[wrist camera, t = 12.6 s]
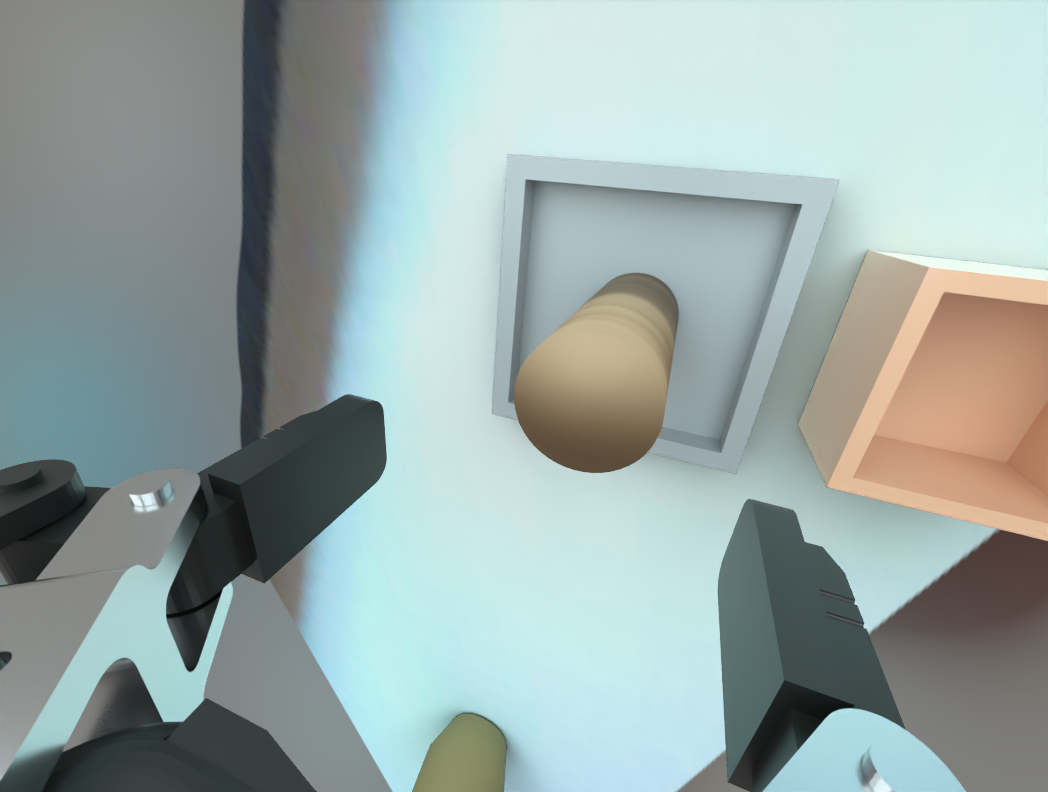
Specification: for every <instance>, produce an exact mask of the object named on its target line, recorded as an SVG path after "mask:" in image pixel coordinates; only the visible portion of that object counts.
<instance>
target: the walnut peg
mask: <svg viewBox="0 0 1048 792" xmlns="http://www.w3.org/2000/svg"><path fill="white" fill-rule="evenodd" d="M678 319H679V310H678V304H677V301H676V298H675V296H674V294H673V292H672V291H671V289H670V288H669V287H668V286H667V285H666V284H665V283H664V282H663V281H661V280H660V279H658V278H656V277H654V276H652V275H649V274H645V273H628V274H623V275H620V276H618V277H616V278H614V279H612V280H611V281H609V282H608V283H607V284H606V285H604V286H603V287H602V288H601V289H600V290H599V291H598V292H597V293H596V294H595V295H594V296H593V297H591V298H590V299H589V300H588V301H587V302H586V303H585V304H584V305H583V306H582V307H581V308H579V309H578V310H577V311H576V312H575V313H574V314H573V315H572V316H571V317H570V318H569V319H568V320H566V321H565V322H564V323H563V324H562V325H561V326H560V327H559V328H558V329H557V330H556V331H554V332H553V333H552V334H551V335H550V336H549V337H548V338H547V339H546V340H545V341H544V342H543V343H541V344H540V345H539V346H538V347H537V348H536V349H535V350H534V351H533V352H532V353H531V354H530V355H529V356H528V357H527V358H526V360H525V361H524V363H523V364H522V366H521V368H520V370H519V372H518V375H517V378H516V382H515V388H514V405H515V410H516V414H517V418H518V420H519V423H520V425H521V427H522V429H523V431H524V433H525V434H526V436H527V437H528V439H529V440H530V441H531V442H532V444H533V445H534V446H535V447H536V448H537V449H538V450H539V451H540V452H541V453H543V454H544V455H545V456H547V457H548V458H549V459H551V460H553V461H555V462H556V463H558V464H560V465H563V466H565V467H567V468H570V469H573V470H577V471H582V472H590V473H603V472H611V471H615V470H619V469H622V468H624V467H627V466H629V465H631V464H633V463H634V462H636V461H637V460H639V459H640V458H641V457H643V456H644V455H645V454H646V453H647V452H648V451H649V450H650V449H651V447H652V446H653V445H654V443H655V442H656V440H657V438H658V436H659V434H660V431H661V428H662V425H663V420H664V414H665V407H666V400H667V393H668V387H669V380H670V373H671V366H672V360H673V353H674V346H675V339H676V332H677V326H678Z"/></svg>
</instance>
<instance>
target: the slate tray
mask: <svg viewBox="0 0 1048 792" xmlns="http://www.w3.org/2000/svg"><path fill="white" fill-rule="evenodd" d="M839 181H840V179H830V178H817V177H804V176H790V175H777V174H764V173H750V172H737V171H724V170H711V169H697V168H684V167H671V166H658V165H644V164H631V163H618V162H604V161H591V160H578V159H565V158H551V157H538V156H525V155H512V154H508V156H507V172H506V188H505V205H504V221H503V237H502V254H501V270H500V286H499V303H498V319H497V336H496V352H495V368H494V385H493V401H492V414H495V415H499V416H503V417H507V418H511V419H515V420H518V418H517V414H516V410H515V405H514V388H515V382H516V378H517V375H518V372H519V370H520V368H521V366H522V364H523V363H524V361H525V360H526V358H527V357H528V356H529V355H530V354H531V353H532V352H533V351H534V350H535V349H536V348H537V347H538V346H539V345H540V344H541V343H543V342H544V341H545V340H546V339H547V338H548V337H549V336H550V335H551V334H552V333H553V332H554V331H556V330H557V329H558V328H559V327H560V326H561V325H562V324H563V323H564V322H565V321H566V320H568V319H569V318H570V317H571V316H572V315H573V314H574V313H575V312H576V311H577V310H578V309H579V308H581V307H582V306H583V305H584V304H585V303H586V302H587V301H588V300H589V299H590V298H591V297H593V296H594V295H595V294H596V293H597V292H598V291H599V290H600V289H601V288H602V287H603V286H604V285H606V284H607V283H608V282H609V281H611V280H612V279H614V278H616V277H618V276H620V275H623V274H628V273H645V274H649V275H652V276H654V277H656V278H658V279H660V280H661V281H663V282H664V283H665V284H666V285H667V286H668V287H669V288H670V289H671V291H672V292H673V294H674V296H675V298H676V301H677V304H678V310H679V319H678V326H677V332H676V339H675V346H674V353H673V360H672V366H671V373H670V380H669V387H668V393H667V400H666V407H665V414H664V420H663V425H662V428H661V431H660V434H659V436H658V438H657V440H656V442H655V443H654V445H653V446H652V447H651V449H650V450H649V451H648V453H652V454H657V455H661V456H665V457H669V458H673V459H677V460H681V461H685V462H689V463H693V464H697V465H701V466H705V467H709V468H713V469H717V470H721V471H725V472H729V473H733V474H736V473H737V470H738V467H739V464H740V462H741V459H742V456H743V453H744V450H745V447H746V444H747V442H748V439H749V436H750V433H751V430H752V427H753V425H754V422H755V419H756V416H757V413H758V410H759V408H760V405H761V402H762V399H763V396H764V393H765V391H766V388H767V385H768V382H769V379H770V376H771V374H772V371H773V368H774V365H775V362H776V359H777V357H778V354H779V351H780V348H781V345H782V342H783V340H784V337H785V334H786V331H787V328H788V325H789V323H790V320H791V317H792V314H793V311H794V308H795V305H796V303H797V300H798V297H799V294H800V291H801V288H802V286H803V283H804V280H805V277H806V274H807V271H808V269H809V266H810V263H811V260H812V257H813V254H814V252H815V249H816V246H817V243H818V240H819V237H820V235H821V232H822V229H823V226H824V223H825V220H826V218H827V215H828V212H829V209H830V206H831V203H832V201H833V198H834V195H835V192H836V189H837V186H838V183H839Z"/></svg>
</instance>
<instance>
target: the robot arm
mask: <svg viewBox="0 0 1048 792" xmlns="http://www.w3.org/2000/svg"><path fill="white" fill-rule="evenodd" d="M386 459H387V456H386V441H385V426H384V412H383V408H382V405H381V404H380V403H379V402H377V401H374V400H370V399H366V398H362V397H358V396H355V395H351V394H348V395H344V396H342V397H341V398H339V399H337V400H335V401H334V402H332V403H330V404H328V405H327V406H325V407H323V408H321V409H320V410H318V411H315V412H311V413H308V414H305V415H302V416H299V417H297V418H296V419H294V420H292V421H290V422H288V423H287V424H285V425H283V426H281V427H280V430H277V429H276V430H274V431H272V432H271V433H269V434H267V435H265V436H264V438H263V439H258V440H256V441H254V442H253V443H251V444H249V445H247V446H246V447H244V448H242V449H240V450H238V451H237V452H235V453H233V454H231V455H229V456H228V457H226V458H224V459H222V460H221V461H219V462H217V463H215V464H213V465H212V466H210V467H208V468H206V469H204V470H203V471H201V472H199V473H195V472H193V471H191V470H187V469H180V468H171V469H162V470H155V471H151V472H147V473H143V474H140V475H137V476H134V477H132V478H130V479H127V480H125V481H123V482H121V483H119V484H117V485H116V486H114V487H113V488H100V487H84V485H83V483H82V481H81V478H80V476H79V474H78V472H77V469H76V467H75V465H74V464H72V463H71V462H68V461H64V460H40V461H34V462H28V463H23V464H19V465H16V466H12V467H9V468H5V469H2V470H0V571H1V573H2V575H3V577H4V578H5V580H6V582H7V583H8V585H1V586H0V792H316V790H314V789H313V787H312V786H311V785H310V784H309V782H308V781H307V780H306V779H305V777H304V776H303V775H302V774H301V772H300V771H299V770H298V769H297V767H296V766H295V765H294V764H293V763H292V761H291V760H290V759H289V757H288V756H287V755H286V754H285V752H284V751H283V750H282V749H281V747H280V746H279V745H278V744H277V742H276V741H275V740H274V739H273V737H272V736H271V735H270V734H269V732H268V731H267V730H265V729H263V728H261V727H259V726H257V725H255V724H254V723H252V722H250V721H248V720H246V719H244V718H242V717H241V716H239V715H237V714H235V713H233V712H231V711H229V710H228V709H226V708H224V707H222V706H220V705H218V704H216V703H214V702H213V701H211V700H209V699H207V698H206V699H205V700H204V701H203V695H204V687H205V683H206V680H207V676H208V673H209V670H210V667H211V663H212V660H213V657H214V654H215V650H216V647H217V644H218V641H219V638H220V634H221V631H222V627H223V625H224V621H225V618H226V615H227V611H228V608H229V605H230V602H231V598H232V595H233V587H232V584H231V581H233V580H234V579H235V578H236V577H237V576H239V575H240V574H244V575H246V576H248V577H251V578H253V579H255V580H258V581H260V582H263V583H265V582H266V581H268V580H269V579H270V578H271V577H272V576H273V575H274V574H275V573H276V572H278V571H279V570H280V569H281V568H282V567H283V566H284V565H285V564H286V563H288V562H289V561H290V560H291V559H292V558H293V557H294V556H295V555H296V554H298V553H299V552H300V551H301V550H302V549H303V548H304V547H305V546H306V545H308V544H309V543H310V542H311V541H312V540H313V539H314V538H315V537H316V536H318V535H319V534H320V533H321V532H322V531H323V530H324V529H325V528H326V527H328V526H329V525H330V524H331V523H332V522H333V521H334V520H335V519H336V518H338V517H339V516H340V515H341V514H342V513H343V512H344V511H345V510H346V509H348V508H349V507H350V506H351V505H352V504H353V503H354V502H355V501H356V500H357V499H359V498H360V497H361V496H362V495H363V494H364V493H365V492H366V491H367V490H369V489H370V488H371V487H372V486H373V485H374V484H375V483H376V482H377V481H378V480H379V479H380V477H381V475H382V473H383V471H384V469H385V465H386ZM854 602H855V598H854V596H853V593H852V591H851V588H850V585H849V583H848V580H847V578H846V575H845V573H844V572H843V570H842V569H841V568H840V567H839V566H838V565H837V563H836V562H835V561H834V560H833V559H832V558H831V556H830V555H829V554H828V553H827V552H826V551H825V549H824V548H823V547H820V546H817V545H813V544H810V543H806V542H805V541H804V538H803V535H802V532H801V529H800V525H799V522H798V519H797V516H796V513H795V512H794V511H793V510H790V509H787V508H783V507H779V506H775V505H771V504H767V503H763V502H760V501H756V500H752V499H748V500H747V501H746V502H745V504H744V506H743V508H742V510H741V513H740V516H739V518H738V521H737V523H736V526H735V529H734V531H733V534H732V537H731V539H730V542H729V544H728V547H727V550H726V552H725V555H724V558H723V561H722V564H721V568H720V573H719V580H718V605H719V624H720V644H721V663H722V682H723V701H724V720H725V740H726V759H727V777H728V782H729V783H731V784H733V785H736V786H738V787H740V788H743V789H745V790H747V791H750V792H966V791H965V790H964V788H963V787H962V786H961V785H960V783H959V781H958V780H957V779H956V777H955V776H954V775H953V773H952V772H951V771H950V770H949V769H948V767H947V766H946V765H945V764H944V763H943V762H942V761H941V760H940V759H939V758H938V757H937V756H936V755H935V754H934V753H933V752H932V751H931V750H930V749H929V748H928V747H927V746H926V745H924V744H923V743H922V742H921V741H920V740H918V739H917V738H916V737H914V736H913V735H912V734H911V733H909V732H908V731H906V729H905V727H904V724H903V722H902V719H901V717H900V714H899V712H898V709H897V706H896V704H895V701H894V699H893V696H892V694H891V691H890V688H889V686H888V683H887V681H886V678H885V676H884V673H883V671H882V668H881V665H880V663H879V660H878V658H877V655H876V652H875V650H874V647H873V645H872V642H871V640H870V637H869V634H868V632H867V629H864V628H863V625H864V622H863V619H862V616H861V614H860V611H859V609H858V606H857V605H855V604H854Z"/></svg>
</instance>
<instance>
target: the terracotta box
mask: <svg viewBox="0 0 1048 792" xmlns="http://www.w3.org/2000/svg"><path fill="white" fill-rule="evenodd" d="M798 426H799V428H800V430H801V432H802V435H803V437H804V439H805V441H806V443H807V445H808V448H809V450H810V452H811V454H812V456H813V459H814V461H815V463H816V465H817V467H818V469H819V472H820V474H821V476H822V478H823V480H824V483H825V485H826V487H828V488H832V489H836V490H840V491H844V492H848V493H853V494H857V495H861V496H865V497H869V498H873V499H877V500H881V501H886V502H890V503H894V504H898V505H902V506H906V507H910V508H914V509H919V510H923V511H927V512H931V513H935V514H939V515H943V516H947V517H952V518H956V519H960V520H964V521H968V522H972V523H976V524H980V525H985V526H989V527H993V528H997V529H1001V530H1005V531H1009V532H1013V533H1018V534H1022V535H1026V536H1030V537H1034V538H1038V539H1042V540H1047V541H1048V270H1043V269H1034V268H1025V267H1016V266H1007V265H998V264H989V263H980V262H971V261H963V260H954V259H945V258H936V257H927V256H918V255H909V254H900V253H891V252H882V251H873V250H868V251H867V253H866V256H865V258H864V261H863V263H862V266H861V268H860V271H859V273H858V276H857V278H856V281H855V283H854V286H853V288H852V291H851V293H850V295H849V298H848V300H847V303H846V305H845V308H844V310H843V313H842V315H841V318H840V320H839V323H838V325H837V328H836V330H835V333H834V335H833V338H832V340H831V343H830V345H829V348H828V350H827V353H826V355H825V358H824V360H823V363H822V365H821V368H820V370H819V373H818V375H817V378H816V380H815V383H814V385H813V388H812V390H811V393H810V395H809V398H808V400H807V403H806V405H805V408H804V410H803V413H802V415H801V418H800V420H799V423H798Z"/></svg>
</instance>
